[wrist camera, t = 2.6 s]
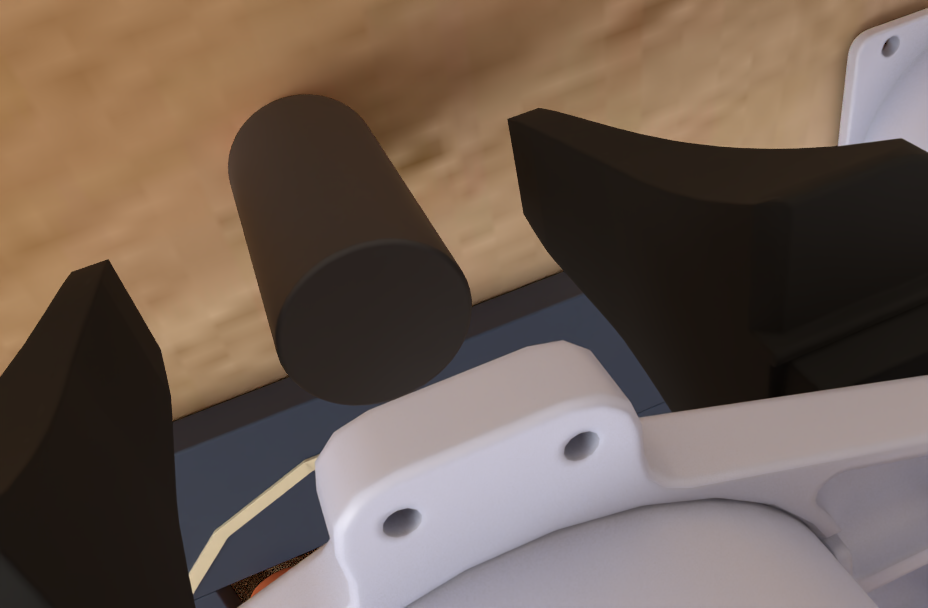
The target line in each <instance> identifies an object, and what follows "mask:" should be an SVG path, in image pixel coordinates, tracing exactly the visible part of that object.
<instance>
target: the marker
mask: <svg viewBox="0 0 928 608" xmlns="http://www.w3.org/2000/svg"><path fill="white" fill-rule="evenodd" d="M228 174H229V180H230V184H231V188H232V192H233V195H234V199H235V202H236V206H237V210H238V213H239V217H240V221H241V224H242V228H243V232H244V235H245V239H246V242H247V246H248V250H249V253H250V257H251V261H252V264H253V268H254V271H255V275H256V279H257V282H258V286H259V290H260V293H261V297H262V300H263V304H264V308H265V311H266V315H267V319H268V322H269V326H270V330H271V333H272V337H273V340H274V344H275V348H276V351H277V354H278V357H279V360H280V363H281V365H282V366H283V368H284V370H285V372H286V373H287V374H288V375H289V377H290V378H291V379H292V380H293V381H294V382H295V383H296V384H297V385H298V386H299V387H301V388H302V389H303V390H305V391H306V392H308V393H310V394H311V395H313V396H315V397H317V398H319V399H322V400H325V401H328V402H331V403H336V404H342V405H353V406H358V405H371V404H379V403H383V402H387V401H391V400H394V399H397V398H399V397H402V396H404V395H407V394H409V393H411V392H413V391H415V390H417V389H418V388H420V387H422V386H424V385H425V384H426V383H428V382H429V381H431V380H432V379H433V378H434V377H436V376H437V375H438V374H439V373H440V372H441V371H442V370H443V369H444V368H445V367H446V366H447V365H448V364H449V363H450V362H451V361H452V359H453V358H454V357H455V355H456V354H457V352H458V351H459V349H460V347H461V346H462V344H463V342H464V340H465V337H466V335H467V332H468V329H469V325H470V320H471V314H472V299H471V292H470V288H469V285H468V282H467V280H466V278H465V276H464V274H463V272H462V270H461V269H460V267H459V266H458V264H457V263H456V261H455V259H454V258H453V256H452V255H451V253H450V252H449V250H448V249H447V247H446V246H445V244H444V243H443V241H442V239H441V238H440V236H439V235H438V233H437V232H436V230H435V229H434V227H433V226H432V224H431V223H430V221H429V219H428V218H427V216H426V215H425V213H424V212H423V210H422V209H421V207H420V206H419V204H418V203H417V201H416V200H415V198H414V196H413V195H412V193H411V192H410V190H409V189H408V187H407V186H406V184H405V183H404V181H403V180H402V178H401V176H400V175H399V173H398V172H397V170H396V169H395V167H394V166H393V164H392V163H391V161H390V160H389V158H388V156H387V155H386V153H385V152H384V150H383V149H382V147H381V146H380V144H379V143H378V141H377V140H376V138H375V136H374V135H373V133H372V132H371V130H370V129H369V127H368V126H367V124H366V123H365V122H364V120H363V119H362V118H361V117H360V116H359V115H358V114H357V113H356V112H355V111H353V110H352V109H351V108H350V107H348V106H346V105H345V104H343V103H341V102H339V101H336V100H334V99H332V98H328V97H324V96H319V95H295V96H289V97H285V98H281V99H279V100H276V101H274V102H271V103H269V104H268V105H266V106H264V107H262V108H261V109H260V110H258V111H257V112H255V113H254V114H253V115H252V116H251V117H250V118H249V119H248V120H247V121H246V122H245V123H244V125H243V126H242V127H241V128H240V130H239V132H238V133H237V135H236V137H235V139H234V141H233V144H232V146H231V150H230V154H229V161H228Z"/></svg>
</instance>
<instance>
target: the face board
mask: <svg viewBox="0 0 928 608" xmlns="http://www.w3.org/2000/svg"><path fill="white" fill-rule="evenodd" d="M561 340H564V341H566V342H569V343H572V344H575V345H577V346H580V347H583V348H586V349H589V350H590V351H591V352H592V353H593V354H594V356H595V357H596V358H597V360H598V361H599V362H600V363H601V365H602V366H603V367H604V369H605V370H606V371H607V372H608V374H609V375H610V376H611V378H612V379H613V380H614V381H615V383H616V384H617V385H618V387H619V388H620V389H621V390H622V392H623V393H624V394H625V396H626V397H627V398H628V399H629V401H630V402H631V404H632V406H633V408H634V410H635V412H636V414H637V416H638V418H639V417H646V416H653V415H659V414H666V413H672V412H671V410H670V409H669V407H668V405H667V404H666V402H665V401H664V399H663V398H662V396H661V395H660V393H659V392H658V390H657V388H656V387H655V385H654V384H653V382H652V381H651V379H650V378H649V376H648V375H647V373H646V372H645V370H644V369H643V367H642V366H641V364H640V363H639V362H638V360H637V359H636V357H635V356H634V354H633V353H632V351H631V350H630V348H629V347H628V345H627V344H626V343H625V341H624V340H623V339H622V337H621V336H620V335H619V334H618V332H617V331H616V330H615V329H614V327H613V326H612V325H611V324H610V323H609V321H608V320H607V319H606V318H605V317H604V316H603V315H602V314H601V312H600V311H599V310H598V309H597V308H596V307H595V306H594V305H593V303H592V302H591V301H590V300H589V299H588V298H587V297H586V296H585V294H584V293H583V292H582V291H581V290H580V289H579V288H578V287H577V285H576V284H575V283H574V282H573V281H572V280H571V279H570V277H569V276H568V275H567V274H566V273H565V272H564V271H563V272H561V273H558V274H556V275H553V276H550V277H548V278H545V279H543V280H540V281H537V282H535V283H532V284H530V285H527V286H524V287H522V288H519V289H517V290H514V291H511V292H509V293H506V294H504V295H501V296H498V297H496V298H493V299H491V300H488V301H485V302H483V303H480V304H478V305H475V306H472V314H471V320H470V325H469V329H468V332H467V335H466V337H465V340H464V342H463V344H462V346H461V347H460V349H459V351H458V352H457V354H456V355H455V357H454V358H453V359H452V361H451V362H450V363H449V364H448V365H447V366H446V367H445V368H444V369H443V370H442V371H441V372H440V373H439V374H438V375H437V376H436V377H434V378H433V379H432V380H431V381H429V382H428V383H426V384H425V385H424V386H422V387H420V388H418V389H417V390H420V389H422V388H425V387H427V386H430V385H432V384H435V383H437V382H440V381H442V380H445V379H447V378H450V377H452V376H455V375H457V374H460V373H462V372H465V371H467V370H470V369H472V368H475V367H477V366H480V365H482V364H485V363H487V362H490V361H492V360H495V359H497V358H500V357H502V356H505V355H507V354H510V353H512V352H515V351H517V350H520V349H522V348H525V347H527V346H533V345H539V344H544V343H550V342H555V341H561ZM417 390H415V391H417ZM415 391H413V392H415ZM411 393H412V392H411ZM409 394H410V393H409ZM404 396H405V395H404ZM399 398H400V397H399ZM394 400H395V399H394ZM391 401H392V400H391ZM387 402H390V401H387ZM387 402H383V403H379V404H371V405H358V406H353V405H342V404H336V403H331V402H328V401H325V400H322V399H319V398H317V397H315V396H313V395H311V394H310V393H308V392H306V391H305V390H303V389H302V388H301V387H299V386H298V385H297V384H296V383H295V382H294V381H293V380H292V379H291V378H290V377H288V378H286V379H283V380H280V381H278V382H275V383H273V384H270V385H267V386H265V387H262V388H260V389H257V390H254V391H252V392H249V393H247V394H244V395H241V396H239V397H236V398H234V399H231V400H229V401H226V402H223V403H221V404H218V405H216V406H213V407H210V408H208V409H205V410H203V411H200V412H197V413H195V414H192V415H190V416H187V417H184V418H182V419H179V420H177V421H174V422H173V437H174V457H175V476H176V495H177V507H178V516H179V524H180V530H181V535H182V541H183V546H184V551H185V557H186V562H187V568H188V573H189V578H190V583H191V587H192V592H193V597H194V602H195V607H196V608H237V607H239V606H240V605H241V604H243V603H242V602H241V600H240V599H239V597H238V596H237V594H236V593H235V591H234V590H233V588H232V587H231V585H230V584H233V583H235V582H237V581H240V580H242V579H245V578H247V577H249V576H252V575H254V574H256V573H259V572H261V571H264V570H266V569H268V568H271V567H273V566H275V565H278V564H280V563H283V562H285V561H287V560H290V559H292V558H294V557H297V556H299V555H302V554H304V553H306V552H309V551H311V550H313V549H316V548H318V547H321V546H323V545H324V544H325V543H327V542H328V541H329V539H330V536H329V533H328V529H327V526H326V522H325V519H324V515H323V512H322V508H321V505H320V501H319V498H318V494H317V490H316V475H315V461H316V459H317V458H318V456H319V455H320V453H321V451H322V450H323V448H324V447H325V445H326V444H327V442H328V440H329V439H330V437H331V436H332V434H333V433H334V432H335V431H336V430H338V429H340V428H341V427H343V426H344V425H346V424H347V423H349V422H350V421H352V420H354V419H355V418H357V417H358V416H360V415H361V414H363V413H365V412H366V411H368V410H370V409H372V408H375V407H377V406H380V405H382V404H385V403H387Z"/></svg>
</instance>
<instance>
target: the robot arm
mask: <svg viewBox="0 0 928 608" xmlns="http://www.w3.org/2000/svg"><path fill="white" fill-rule="evenodd" d="M887 40H888V41H887ZM886 41H887V44H886V45H885V47H884V48H883V46H884V44H885V42H886ZM508 125H509V131H510V136H511V142H512V148H513V154H514V160H515V166H516V172H517V178H518V183H519V189H520V195H521V201H522V207H523V213H524V215H525V217H526V219H527V220H528V222H529V224H530V225H531V227H532V229H533V230H534V232H535V233H536V235H537V237H538V238H539V240H540V241H541V243H542V244H543V246H544V247H545V249H546V250H547V252H548V253H549V254H550V255H551V257H552V258H553V259H554V260H555V261H556V263H557V264H558V265H559V266H560V267H561V268H562V269H563V271H564V272H565V273H566V274H567V275H568V276H569V277H570V279H571V280H572V281H573V282H574V283H575V284H576V285H577V287H578V288H579V289H580V290H581V291H582V292H583V293H584V294H585V296H586V297H587V298H588V299H589V300H590V301H591V302H592V303H593V305H594V306H595V307H596V308H597V309H598V310H599V311H600V312H601V314H602V315H603V316H604V317H605V318H606V319H607V320H608V321H609V323H610V324H611V325H612V326H613V327H614V329H615V330H616V331H617V332H618V334H619V335H620V336H621V337H622V339H623V340H624V341H625V343H626V344H627V345H628V347H629V348H630V350H631V351H632V353H633V354H634V356H635V357H636V359H637V360H638V362H639V363H640V364H641V366H642V367H643V369H644V370H645V372H646V373H647V375H648V376H649V378H650V379H651V381H652V382H653V384H654V385H655V387H656V388H657V390H658V392H659V393H660V395H661V396H662V398H663V399H664V401H665V402H666V404H667V405H668V407H669V409H670V410H671V412H672V413H666V414H659V415H653V416H646V417H639V418H638V416H637V414H636V412H635V410H634V408H633V406H632V404H631V402H630V401H629V399H628V398H627V397H626V396H625V394H624V393H623V392H622V390H621V389H620V388H619V387H618V385H617V384H616V383H615V381H614V380H613V379H612V378H611V376H610V375H609V374H608V372H607V371H606V370H605V369H604V367H603V366H602V365H601V363H600V362H599V361H598V360H597V358H596V357H595V356H594V354H593V353H592V352H591V351H590V350H589V349H586V348H583V347H580V346H577V345H575V344H572V343H569V342H566V341H564V340H561V341H555V342H550V343H544V344H539V345H533V346H527V347H525V348H522V349H520V350H517V351H515V352H512V353H510V354H507V355H505V356H502V357H500V358H497V359H495V360H492V361H490V362H487V363H485V364H482V365H480V366H477V367H475V368H472V369H470V370H467V371H465V372H462V373H460V374H457V375H455V376H452V377H450V378H447V379H445V380H442V381H440V382H437V383H435V384H432V385H430V386H427V387H425V388H422V389H420V390H417V391H415V392H412V393H410V394H407V395H405V396H402V397H400V398H397V399H395V400H392V401H390V402H387V403H385V404H382V405H380V406H377V407H375V408H372V409H370V410H368V411H366V412H365V413H363V414H361V415H360V416H358V417H357V418H355V419H354V420H352V421H350V422H349V423H347V424H346V425H344V426H343V427H341V428H340V429H338V430H336V431H335V432H334V433H333V434H332V436H331V437H330V439H329V440H328V442H327V444H326V445H325V447H324V448H323V450H322V451H321V453H320V455H319V456H318V458H317V459H316V461H315V475H316V490H317V494H318V498H319V501H320V505H321V508H322V512H323V515H324V519H325V522H326V526H327V529H328V533H329V536H330V539H329V541H328V542H327V543H325V544H324V545H323V546H321V547H320V548H319V549H317V550H316V551H314V552H313V553H312V554H310V555H309V556H308V557H306V558H305V559H303V560H302V561H301V562H299V563H298V564H297V565H295V566H294V567H292V568H291V569H290V570H288V571H287V572H286V573H284V574H283V575H281V576H280V577H279V578H277V579H276V580H275V581H273V582H272V583H270V584H269V585H268V586H266V587H265V588H264V589H262V590H261V591H259V592H258V593H257V594H255V595H254V596H253V597H251V598H250V599H248V600H247V601H246V602H244V603H243V604H241V605H240V606H239V607H237V608H928V8H926V9H923V10H920V11H918V12H915V13H912V14H909V15H906V16H904V17H901V18H898V19H895V20H892V21H890V22H887V23H884V24H881V25H878V26H876V27H873V28H870V29H867V30H865V31H864V32H862V33H860V34H859V35H858V36H857V37H856V38H855V39H854V41H853V42H852V44H851V46H850V49H849V53H848V59H847V68H846V77H845V86H844V95H843V103H842V112H841V121H840V130H839V139H838V146H833V147H816V148H799V149H754V148H731V147H718V146H709V145H701V144H692V143H685V142H678V141H672V140H667V139H662V138H657V137H652V136H647V135H643V134H638V133H634V132H630V131H626V130H622V129H618V128H614V127H611V126H607V125H603V124H600V123H596V122H592V121H589V120H585V119H582V118H578V117H575V116H571V115H568V114H564V113H560V112H556V111H552V110H548V109H542V108H538V109H535V110H532V111H529V112H526V113H523V114H520V115H518V116H515V117H512V118H509V119H508ZM0 608H196V607H195V602H194V597H193V592H192V587H191V583H190V578H189V573H188V568H187V562H186V557H185V551H184V546H183V541H182V535H181V530H180V524H179V516H178V507H177V495H176V476H175V457H174V437H173V421H172V405H171V395H170V390H169V385H168V380H167V375H166V371H165V366H164V362H163V358H162V353H161V349H160V348H159V346H158V344H157V342H156V341H155V339H154V337H153V335H152V334H151V332H150V330H149V329H148V327H147V325H146V323H145V322H144V320H143V318H142V316H141V315H140V313H139V311H138V310H137V308H136V306H135V304H134V303H133V301H132V299H131V297H130V296H129V294H128V292H127V291H126V289H125V287H124V285H123V284H122V282H121V280H120V278H119V277H118V275H117V273H116V272H115V270H114V268H113V266H112V265H111V263H110V261H109V259H108V260H105V261H102V262H99V263H96V264H93V265H91V266H88V267H85V268H82V269H79V270H76V271H73V272H71V274H70V275H69V276H68V278H67V279H66V280H65V282H64V283H63V285H62V286H61V288H60V289H59V291H58V292H57V294H56V296H55V297H54V299H53V300H52V302H51V304H50V305H49V307H48V308H47V310H46V312H45V313H44V315H43V316H42V318H41V319H40V321H39V322H38V324H37V325H36V327H35V329H34V330H33V332H32V333H31V335H30V336H29V338H28V339H27V341H26V342H25V344H24V345H23V347H22V348H21V349H20V351H19V352H18V354H17V355H16V356H15V358H14V359H13V360H12V362H11V363H10V364H9V366H8V367H7V369H6V370H5V371H4V373H3V374H2V375H1V377H0Z"/></svg>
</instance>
